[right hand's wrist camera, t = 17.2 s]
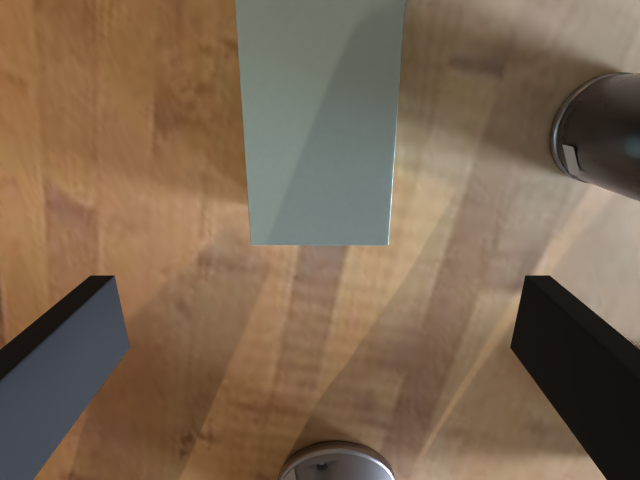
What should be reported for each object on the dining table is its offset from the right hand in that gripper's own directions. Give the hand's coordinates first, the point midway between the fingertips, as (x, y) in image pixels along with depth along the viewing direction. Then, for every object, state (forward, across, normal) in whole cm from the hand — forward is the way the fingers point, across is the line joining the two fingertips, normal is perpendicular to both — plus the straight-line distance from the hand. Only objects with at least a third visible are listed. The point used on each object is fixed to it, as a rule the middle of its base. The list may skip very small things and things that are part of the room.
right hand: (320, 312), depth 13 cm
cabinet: (+26, 0, -6) cm, 26 cm away
